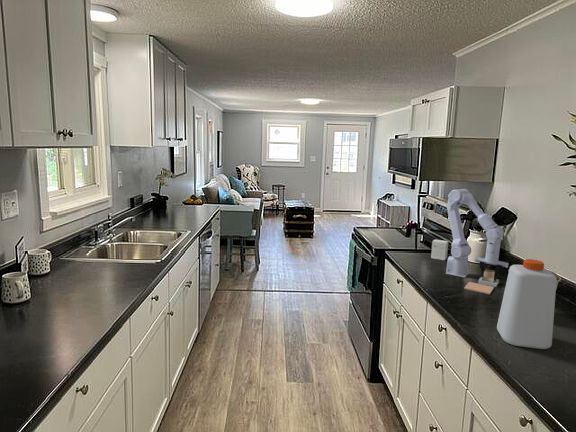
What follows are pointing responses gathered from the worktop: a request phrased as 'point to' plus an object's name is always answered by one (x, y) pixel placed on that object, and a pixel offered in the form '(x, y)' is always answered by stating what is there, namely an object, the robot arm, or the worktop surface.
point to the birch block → (489, 276)
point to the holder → (488, 282)
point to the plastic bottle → (528, 306)
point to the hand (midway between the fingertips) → (489, 278)
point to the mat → (479, 288)
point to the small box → (439, 249)
